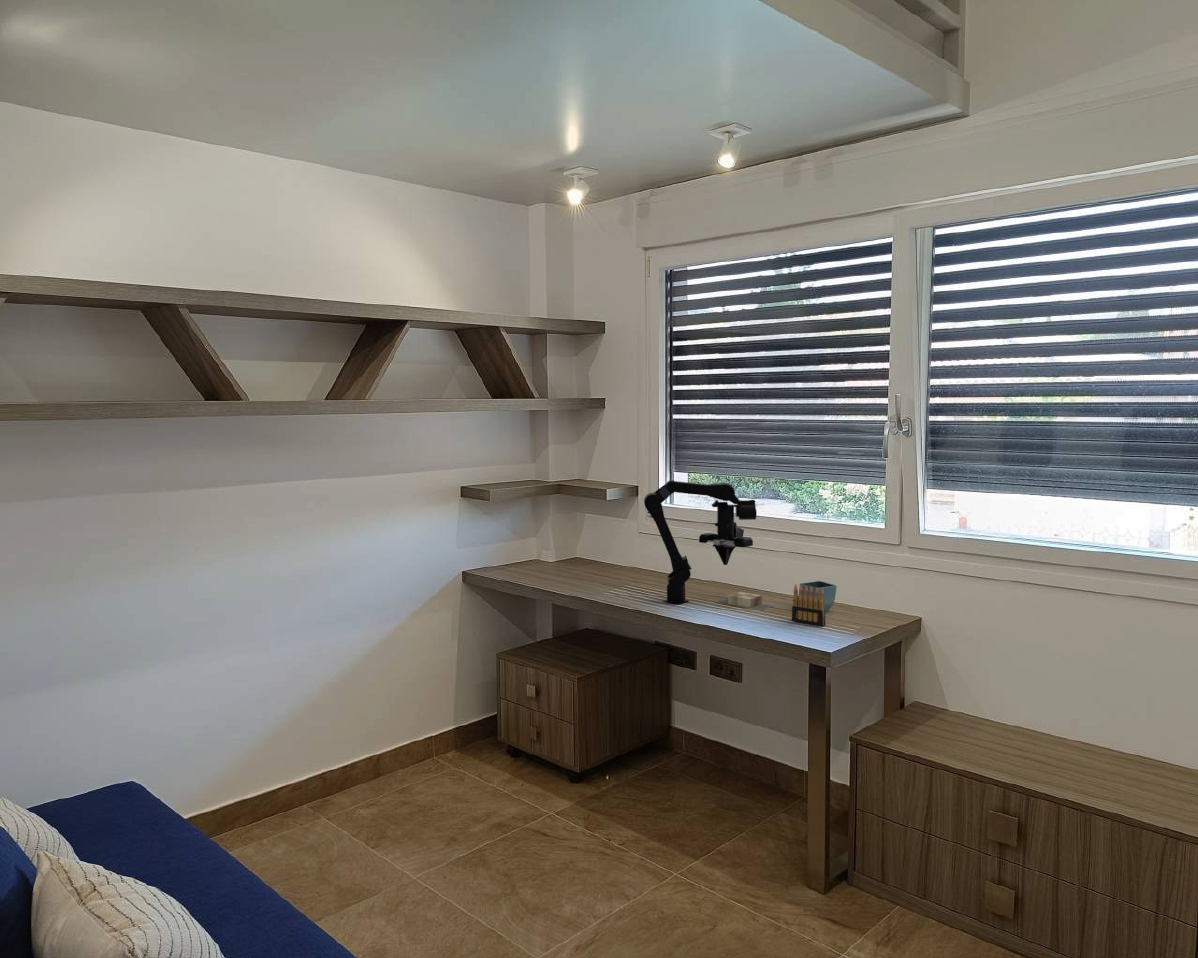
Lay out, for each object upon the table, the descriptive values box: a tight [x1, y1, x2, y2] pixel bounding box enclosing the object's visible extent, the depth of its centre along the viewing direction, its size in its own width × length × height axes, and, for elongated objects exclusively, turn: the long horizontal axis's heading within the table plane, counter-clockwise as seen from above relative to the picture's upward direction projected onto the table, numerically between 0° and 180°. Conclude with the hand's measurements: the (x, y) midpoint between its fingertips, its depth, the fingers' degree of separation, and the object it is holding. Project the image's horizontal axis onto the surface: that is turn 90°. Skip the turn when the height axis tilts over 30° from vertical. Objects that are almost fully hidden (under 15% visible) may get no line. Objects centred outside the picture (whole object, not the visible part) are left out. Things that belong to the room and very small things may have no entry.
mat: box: [715, 598, 774, 611], centre depth 312 cm, size 8×18×1 cm, turn 48°
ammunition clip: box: [791, 583, 826, 628], centre depth 285 cm, size 11×2×12 cm, turn 51°
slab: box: [727, 591, 763, 609], centre depth 312 cm, size 7×3×9 cm
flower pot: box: [799, 580, 838, 613], centre depth 302 cm, size 9×9×9 cm
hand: (725, 564), depth 316 cm, fingers closed
